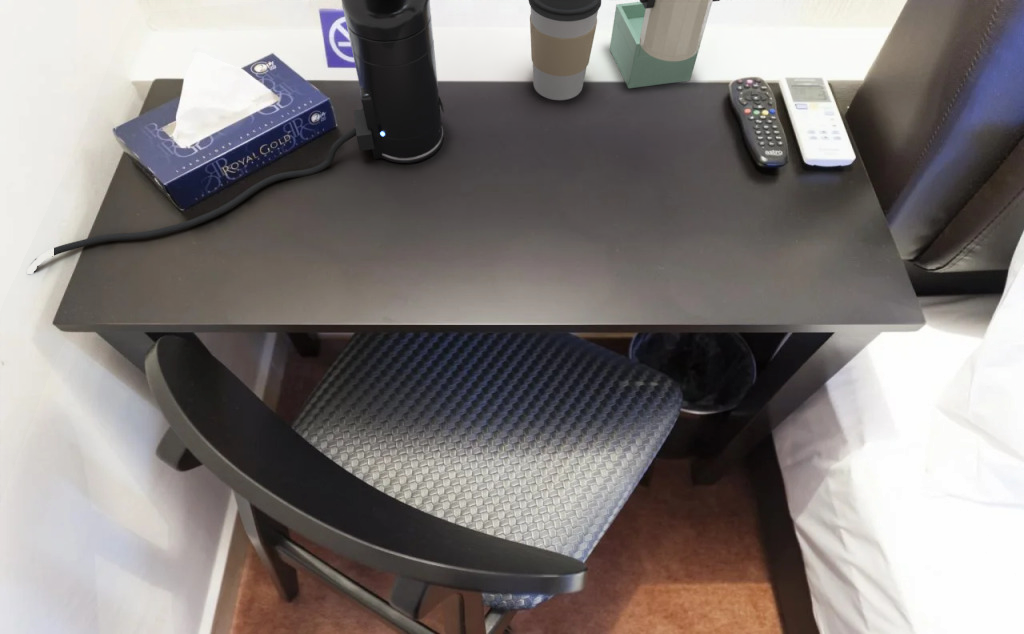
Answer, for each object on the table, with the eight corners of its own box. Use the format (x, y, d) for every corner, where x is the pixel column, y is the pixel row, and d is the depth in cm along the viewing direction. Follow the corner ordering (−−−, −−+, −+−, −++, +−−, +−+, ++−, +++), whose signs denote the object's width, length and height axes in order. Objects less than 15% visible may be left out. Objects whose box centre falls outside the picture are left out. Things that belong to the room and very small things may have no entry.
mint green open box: (628, 88, 93) (639, 30, 85) (609, 49, 98) (618, -10, 90) (690, 80, 94) (706, 22, 86) (668, 41, 99) (682, -17, 91)
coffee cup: (585, 109, 90) (598, 6, 78) (520, 100, 91) (522, -4, 79) (594, 68, 95) (608, -36, 82) (532, 60, 96) (536, -44, 83)
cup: (649, 64, 66) (669, -25, 58) (632, 28, 69) (648, -61, 61) (707, 58, 66) (733, -31, 59) (687, 23, 69) (710, -66, 62)
